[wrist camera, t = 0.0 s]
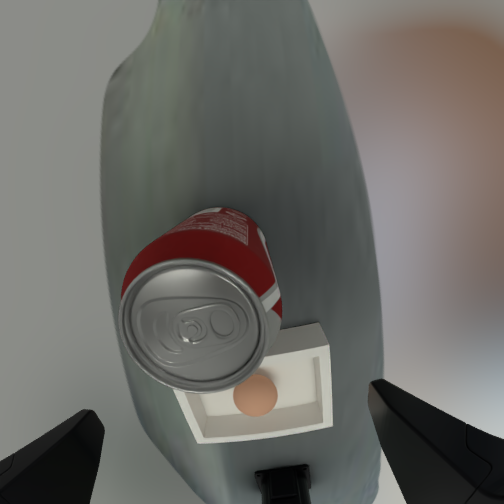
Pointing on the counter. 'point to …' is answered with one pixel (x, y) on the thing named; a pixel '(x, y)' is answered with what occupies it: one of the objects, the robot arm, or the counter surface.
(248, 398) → the ball
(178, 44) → the counter surface
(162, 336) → the soda can
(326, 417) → the bin
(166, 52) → the counter surface
